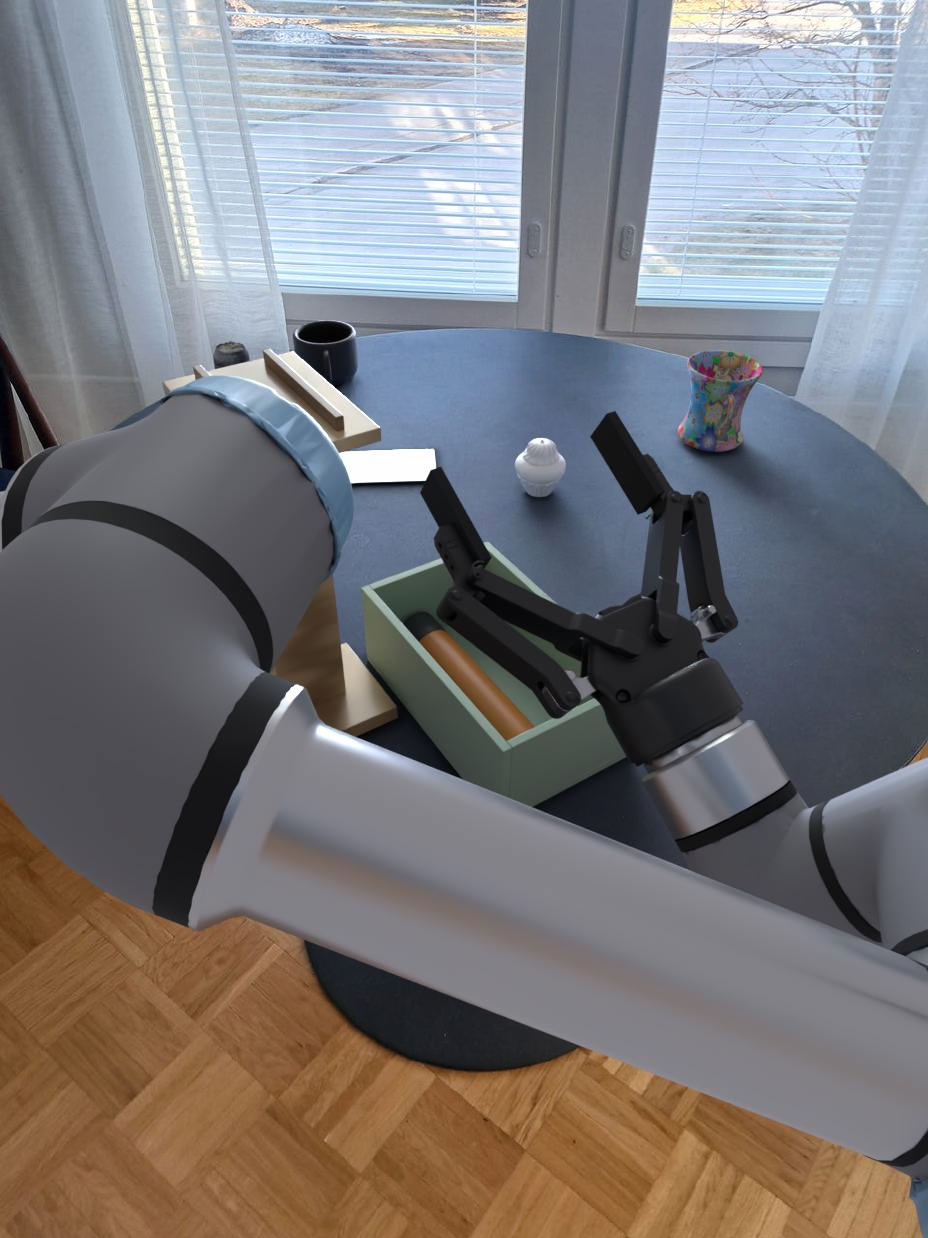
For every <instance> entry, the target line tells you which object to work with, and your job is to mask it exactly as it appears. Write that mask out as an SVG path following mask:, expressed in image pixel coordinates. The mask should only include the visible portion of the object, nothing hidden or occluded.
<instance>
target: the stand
mask: <svg viewBox="0 0 928 1238" xmlns="http://www.w3.org/2000/svg"><path fill="white" fill-rule="evenodd" d="M262 355H263V357H262V358H258V359H253V360H250V361H248V362H244V363H240V364H236V365H231V366H227V367H223V368H219V369H215V368H213V369H210V370H206V369H205V368H204V367H203V365H202V364H199V365H194V366H193V367H192V370H193V373H192V374H189V375H184V376H181V377H180V376H179V377H176V378H172V379H168V380H163V381H162V382H161V384H162V389H163V393H164V396H165V395H166V394H167V393H169V392H171V391H172V390H173V389H176V388H179V387H183V386H185V385H186V384H188V383H190V382H192V381H194V380H197V379H199V378H203V377H208V376H216V375H226V376H236V377H241V378H245V379H249V380H253V381H256V382H258V383H261V384H263V385H266V386H268V387H270V388H272V389H274V390H275V391H276V392H277V394H278V395H279V396H280V397H282V398H284V399H286V400H287V401H289V402H291V403H294V404H297V405H299V406H300V407H301V408H302V409H303V410H304V411H306V412H307V413H308V414H309V415H310V416H311V417H312V418H313V419H314V420H315V421H316V422H317V423H318V424H319V425H320V427H321V428H322V429H323V430H324V431H325V433H326V434H327V435H328V437H329V438H330V439H331V441H332V442H333V444H334V445H335V447H336V449H337V451H338V452H339V453H342V452H350V451H353V450H355V449H359V448H362V447H366V446H369V445H372V444H377V443H380V442H382V429H381V427H380V426H379V425H378V424H377V423H376V422H374V420H372V419H371V418H370V417H369V416H368V415H366V414H365V413H364V412H363V411H362V409H361V410H360V408H359V407H357V406H356V405H355V404H354V403H353V402H351V400H350V399H348V398H347V397H346V396H345V395H343V394H342V392H340V391H339V390H338V389H337V388H335V386H332V385H331V384H330V383H329V382H327V381H326V380H325V379H324V378H323V377H322V376H320V375H319V374H318V373H317V372H316V371H315V370H314V369H312V368H311V367H310V366H309V365H308V364H307V363H306V362H304V361H303V360H302V359H301V358H300V357H299V356H298V355H296V354H295V351H293V350H291V351H288V352H287V351H286V352H284V353H279V354H276V353H275V352H274V351H273V350H272V349H271V348H268V349H263V350H262ZM337 607H338V606H337V599H336V589H335V579H334V573H333V574H332V575H331V577H330V578H329V579H327V580H326V581H325V582H324V583H322V584H321V586H320V587H319V589H318V591H317V593H316V594H315V596H314V598H313V600H312V601H311V603H310V605H309V607H308V608H307V610H306V612H305V614H304V615H303V617H302V619H301V621H300V622H299V624H298V626H297V628H296V629H295V631H294V633H293V634H292V636H291V638H290V640H289V641H288V643H287V645H286V647H285V648H284V650H283V652H282V654H281V655H280V657H279V659H278V661H277V662H276V664H275V666H274V668H273V669H272V671H271V673H270V674H272V675H274V676H277V677H279V678H282V679H284V680H287V681H289V682H292V683H295V684H297V685H299V686H302V687H304V688H306V689H307V692H308V694H309V696H310V699H311V701H312V703H313V706H314V708H315V710H316V713H317V715H318V717H319V719H320V720H321V721H322V722H323V723H324V724H325V725H327V726H330V727H332V728H335V729H337V730H340V731H342V732H345V733H347V734H350V735H352V736H355V737H358V736H361V735H363V734H365V733H367V732H370V731H372V730H375V729H376V728H379V727H381V726H383V725H385V724H388V723H390V722H392V721H394V720H397V719H398V718H399V716H398V715H399V714H398V706H397V704H396V703H395V701H393V700H392V698H391V697H390V696H389V695H388V693H387V692H386V691H385V689H384V688H383V687H382V685H380V683H379V682H378V680H377V679H376V678H375V676H373V674H372V673H371V671H370V670H369V669H368V668H367V667H366V665H365V664H364V663H363V662H362V660H361V658H359V656H358V655H357V654H356V653H355V651H354V650H353V649H352V647H351V646H350V645H349V644H348V643H347V642H344V643H341V634H340V633H341V632H340V626H339V617H338V615H339V614H338V608H337Z"/></svg>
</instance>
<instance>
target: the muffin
mask: <svg viewBox="0 0 928 1238" xmlns="http://www.w3.org/2000/svg"><path fill="white" fill-rule="evenodd" d="M566 468H567V465H566V460H565V458H564V457H563V456H562V455H561V453H560V452H559V451H558V449H557V445H556V443H555V442H553V441H552V440H551V439H549V438H546V437H540V438H539V437H537V438H533V439H532V440H531V441H528V444H527V445H526V448H525V450H524V451H523V452H521V453H520V454H519V455H518V456H517V458H516V459H515V462H514V469H515V472H516V476H517V478H518V479H519V481H520V484H521V485H522V488H523V489H524V491H525V492H526V493H527V494H528V495H529V496H532V497H535V498H543V497H547V496H549V495H551V494H552V492H553V491H554V490H555V488H556V487H557V486H558V485H559V483H560V482H561V481H562V478H563V475H564V474H565V472H566Z"/></svg>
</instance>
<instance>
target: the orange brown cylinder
mask: <svg viewBox="0 0 928 1238" xmlns="http://www.w3.org/2000/svg"><path fill="white" fill-rule="evenodd" d="M403 625H404V626H405V627H406V628H407V629H408V630H409V632H410V633H411V634H412V635H413V636H414V637H415V638H416V640H417V641H418V642H419V643H420V644H421V645H422V646H423V648H424V649H425V650H426V651H427V652H428V653H429V654H430V655H431V657H432V658H433V659H434V660H435V661H436V662H437V663H438V665H439V666H440V667H441V668H442V669H443V670H444V671H445V673H446V674H447V675H448V676H449V677H450V678H451V679H452V681H453V682H454V683H455V684H456V685H457V686H458V687H459V688H460V690H461V691H462V692H463V693H464V694H465V695H466V696H467V698H468V699H469V700H470V701H471V702H472V703H473V704H474V706H475V707H476V708H477V709H478V710H479V711H480V712H481V713H482V715H483V716H484V717H485V718H486V719H487V720H488V721H489V723H490V724H491V725H492V726H493V727H494V728H495V729H496V731H497V732H498V733H499V734H500V735H501V736H502V737H503V738H504V740H505V741H506V742H507V741H508V740H510V739H512V738H514V737H516V736H518V735H520V734H522V733H524V732H526V731H528V730H530V729H533V728H535V726H534V725H533V724H532V723H531V722H530V721H529V720H528V718H527V717H526V716H525V715H524V714H523V713H522V712H521V711H520V710H519V709H518V708H517V707H516V706H515V704H514V703H513V702H512V701H511V700H510V699H509V698H508V697H507V696H506V695H505V694H504V693H503V692H502V690H501V689H500V688H499V687H498V686H497V685H496V684H495V683H494V682H493V681H492V680H491V679H490V677H489V676H488V675H487V674H486V673H485V672H484V671H483V670H482V669H481V668H480V667H479V666H478V665H477V663H476V662H475V661H474V660H473V659H472V658H471V657H470V656H469V655H468V654H467V653H466V652H465V650H464V649H463V648H462V647H461V646H460V645H459V644H458V643H457V642H456V641H455V640H454V639H453V638H452V636H451V635H450V634H449V633H448V632H447V631H446V630H445V629H444V628H443V627H442V626H441V625H440V624H439V622H438V621H437V620H436V619H435V618H434V617H433V616H432V615H431V614H429V613H427V612H419V613H416V614H414V615H412V616H410V617H409V618H408V619H406V620H405V621H404V623H403Z"/></svg>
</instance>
